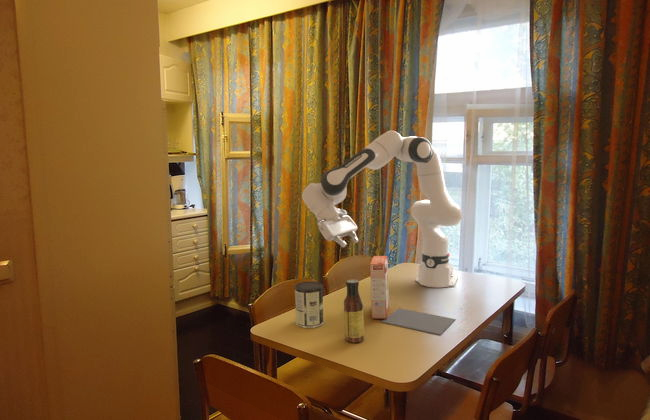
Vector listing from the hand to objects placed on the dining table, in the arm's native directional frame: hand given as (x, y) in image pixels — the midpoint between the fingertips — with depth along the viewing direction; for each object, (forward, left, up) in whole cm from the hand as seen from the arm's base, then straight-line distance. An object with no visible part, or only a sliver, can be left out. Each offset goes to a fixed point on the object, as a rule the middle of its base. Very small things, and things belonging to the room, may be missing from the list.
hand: (351, 243), depth 169 cm
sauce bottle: (+26, +16, -26) cm, 40 cm away
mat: (0, +28, -26) cm, 38 cm away
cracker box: (0, +13, -26) cm, 29 cm away
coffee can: (+22, -5, -26) cm, 34 cm away
